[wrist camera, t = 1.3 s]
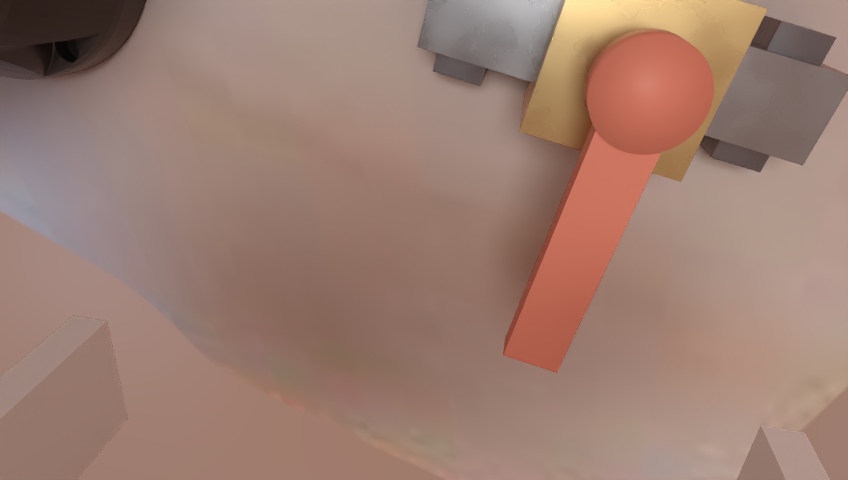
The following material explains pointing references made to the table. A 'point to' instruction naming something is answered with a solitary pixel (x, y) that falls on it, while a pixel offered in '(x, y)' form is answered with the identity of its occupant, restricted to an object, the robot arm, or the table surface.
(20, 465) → the robot arm
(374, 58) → the table surface
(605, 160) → the lever
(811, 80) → the valve
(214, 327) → the table surface
